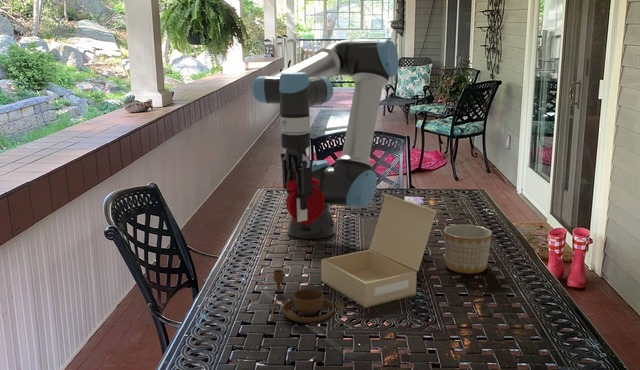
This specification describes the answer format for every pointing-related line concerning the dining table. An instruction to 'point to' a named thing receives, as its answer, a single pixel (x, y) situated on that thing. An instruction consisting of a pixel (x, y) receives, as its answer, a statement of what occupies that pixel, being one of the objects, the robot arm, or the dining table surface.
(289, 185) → the alarm clock
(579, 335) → the dining table surface
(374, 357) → the dining table surface
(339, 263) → the box
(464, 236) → the planter
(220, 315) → the dining table surface
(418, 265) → the lid
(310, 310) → the place setting
